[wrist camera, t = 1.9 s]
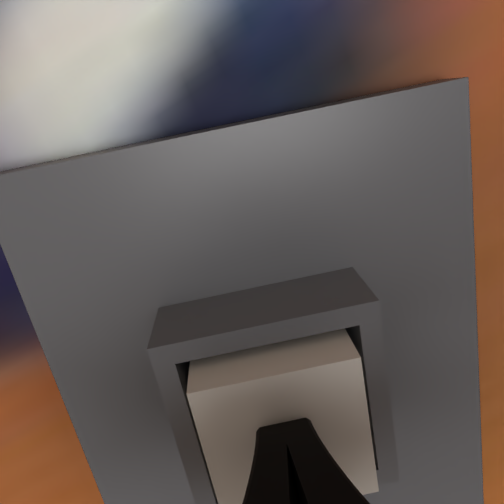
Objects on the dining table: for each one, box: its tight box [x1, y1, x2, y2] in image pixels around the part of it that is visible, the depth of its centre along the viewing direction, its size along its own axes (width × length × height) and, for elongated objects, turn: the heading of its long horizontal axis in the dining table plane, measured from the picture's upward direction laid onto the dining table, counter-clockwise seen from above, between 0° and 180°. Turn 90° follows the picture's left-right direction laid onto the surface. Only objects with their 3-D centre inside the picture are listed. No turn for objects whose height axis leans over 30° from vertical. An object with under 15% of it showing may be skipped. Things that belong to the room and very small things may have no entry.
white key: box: [186, 328, 379, 504], centre depth 13 cm, size 4×4×2 cm
